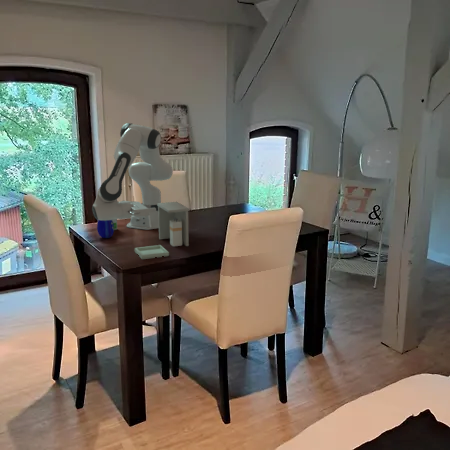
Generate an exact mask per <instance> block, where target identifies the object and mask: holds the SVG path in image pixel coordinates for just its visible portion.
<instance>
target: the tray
mask: <svg viewBox="0 0 450 450" xmlns="http://www.w3.org/2000/svg"><path fill="white" fill-rule="evenodd" d="M134 252H135V254H138V255H139V256H138V255H137V256H138V257H139V258H140V259H141V260H146V259H147V260H148V259H155V257H157V258H163V257H162V256H164V257H169V256H170V252H169V251H168V250H167V249H166V248H165V247H164V246H162V245H161V244H158V245H157V244H155V245H149V246H148V245H147V246H140V247H134Z"/></svg>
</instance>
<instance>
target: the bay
mask: <svg viewBox="0 0 450 450" xmlns="http://www.w3.org/2000/svg"><path fill="white" fill-rule="evenodd" d="M157 206H158V217H159V228H158V239H159V240H167V239H168V240H169V239H170V220H174V217H175V218H177V220H178V219H179V220H180V221H182V245H184V246H185V247H189V245H190V244H189V237H190V236H189V212H190V208H189V207H188V206H186V205H184V204H181V203H180V202H179V201H169V202H166V201H165V202H161V203H157Z"/></svg>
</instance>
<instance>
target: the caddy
mask: <svg viewBox="0 0 450 450" xmlns="http://www.w3.org/2000/svg"><path fill="white" fill-rule="evenodd" d="M169 244H170V245H171V246H172V247H178V246H180V247H181V246H183V243H182V221H180V220H179V219H178V220H177V218H175V217H174V220H170V238H169Z"/></svg>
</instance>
